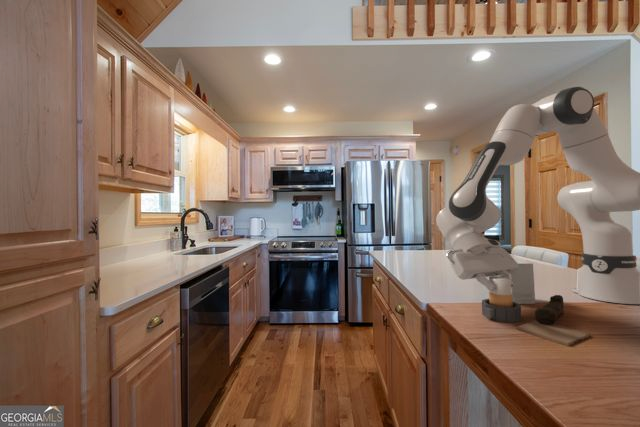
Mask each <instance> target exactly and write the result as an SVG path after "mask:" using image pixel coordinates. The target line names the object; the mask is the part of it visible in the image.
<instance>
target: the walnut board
mask: <svg viewBox="0 0 640 427" xmlns="http://www.w3.org/2000/svg"><path fill="white" fill-rule="evenodd" d="M515 330H517V331H521V332H523V333H527V334H530V335H532V336H536V337H538V338H539V337H540V338H542V339H546V340H549V341H551V342H555V343H558V344H560V345H564V346H567V347H569V346H572V345H574V344H575V342H576V343H578V342H580V341H579V340H581V339H583V340H585V339H587V338H590V337H591V333H590V332H586V331H582V330H578V329H576V328H575V329H574V328H572V327H567V326H564V325H561V324H556V323H554V324H553V325H546V324H541V323H539V322H538V321H537V320H536V319H534V320H532V321H530V322H529V321H528V322H526V323H523V324H520V325H517V326H515ZM589 336H590V337H589ZM586 337H587V338H586ZM584 338H585V339H584ZM577 341H578V342H577ZM581 341H582V340H581Z"/></svg>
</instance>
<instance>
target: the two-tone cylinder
mask: <svg viewBox="0 0 640 427" xmlns="http://www.w3.org/2000/svg"><path fill="white" fill-rule="evenodd" d="M488 280H489V281H490V282H494V284H495V285H496V286H497V288H496V289H495V290H491V291H489V290H488V299H489V303H490V305H493V306H498V307H513V295H512V293H511V279H510V278H507V277H499V276H491V277H488Z"/></svg>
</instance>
